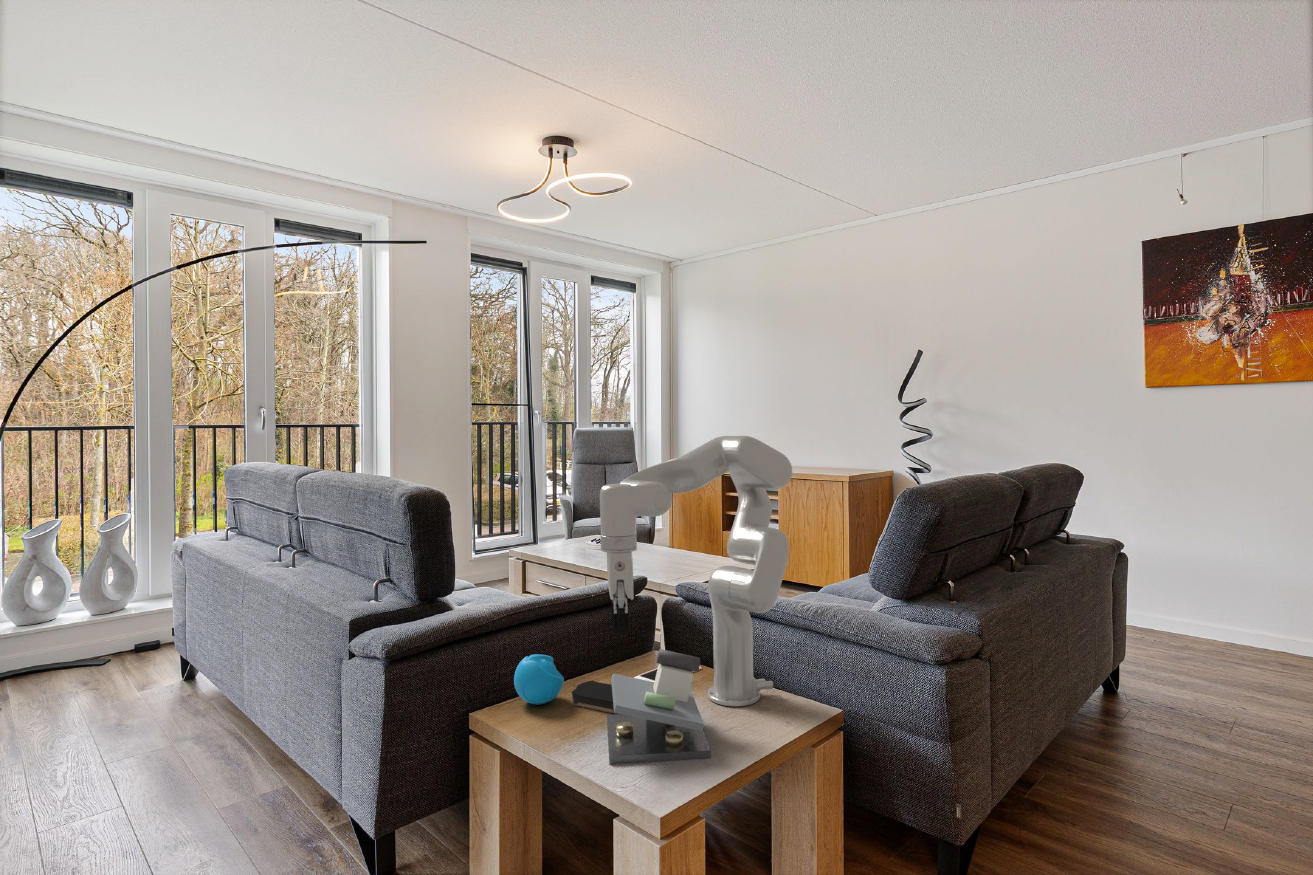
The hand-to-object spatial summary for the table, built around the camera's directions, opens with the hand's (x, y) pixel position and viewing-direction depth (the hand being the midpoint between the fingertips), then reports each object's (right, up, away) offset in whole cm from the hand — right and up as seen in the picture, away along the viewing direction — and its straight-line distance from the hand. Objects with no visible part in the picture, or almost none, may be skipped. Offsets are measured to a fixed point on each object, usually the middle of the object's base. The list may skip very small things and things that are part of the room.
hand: (620, 626), depth 143 cm
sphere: (-21, -24, +21) cm, 38 cm away
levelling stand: (+7, -24, +1) cm, 25 cm away
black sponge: (-5, -25, +19) cm, 32 cm away
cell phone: (+11, -24, +39) cm, 47 cm away
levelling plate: (+7, -18, +1) cm, 19 cm away
